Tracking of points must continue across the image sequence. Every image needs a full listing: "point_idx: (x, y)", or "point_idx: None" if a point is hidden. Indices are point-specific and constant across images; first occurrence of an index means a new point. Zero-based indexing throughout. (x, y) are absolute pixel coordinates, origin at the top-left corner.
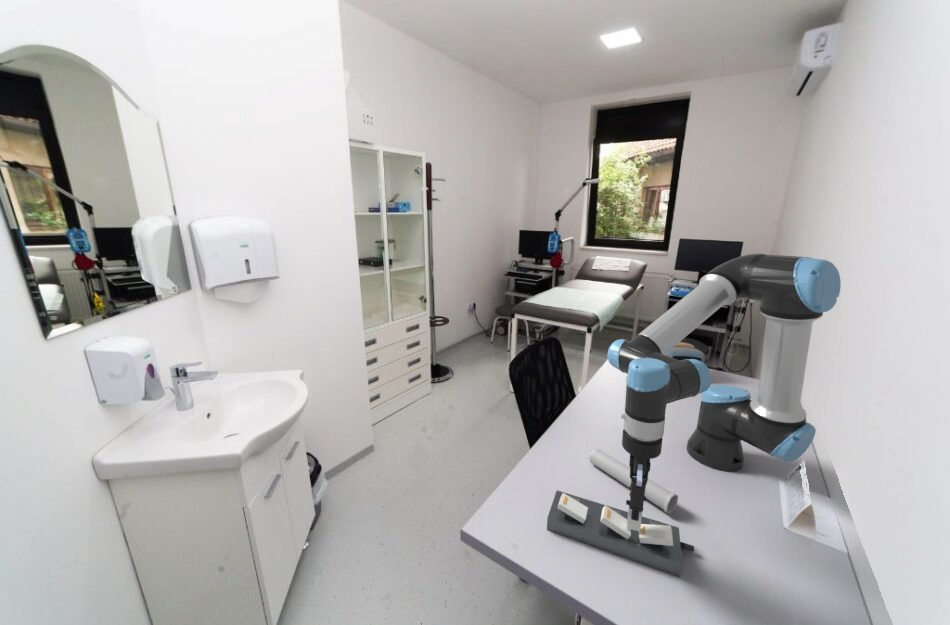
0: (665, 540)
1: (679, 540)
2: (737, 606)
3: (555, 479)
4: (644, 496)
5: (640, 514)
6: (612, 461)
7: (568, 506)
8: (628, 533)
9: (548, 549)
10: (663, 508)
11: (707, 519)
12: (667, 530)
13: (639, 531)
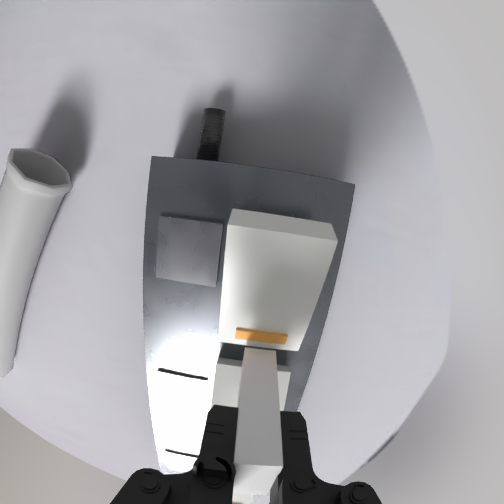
0: (327, 265)
1: (229, 165)
2: (378, 55)
3: (102, 440)
4: (194, 469)
5: (278, 423)
6: None
7: (243, 498)
8: (286, 381)
9: (312, 459)
10: (61, 196)
11: (69, 65)
12: (264, 247)
13: (275, 353)
